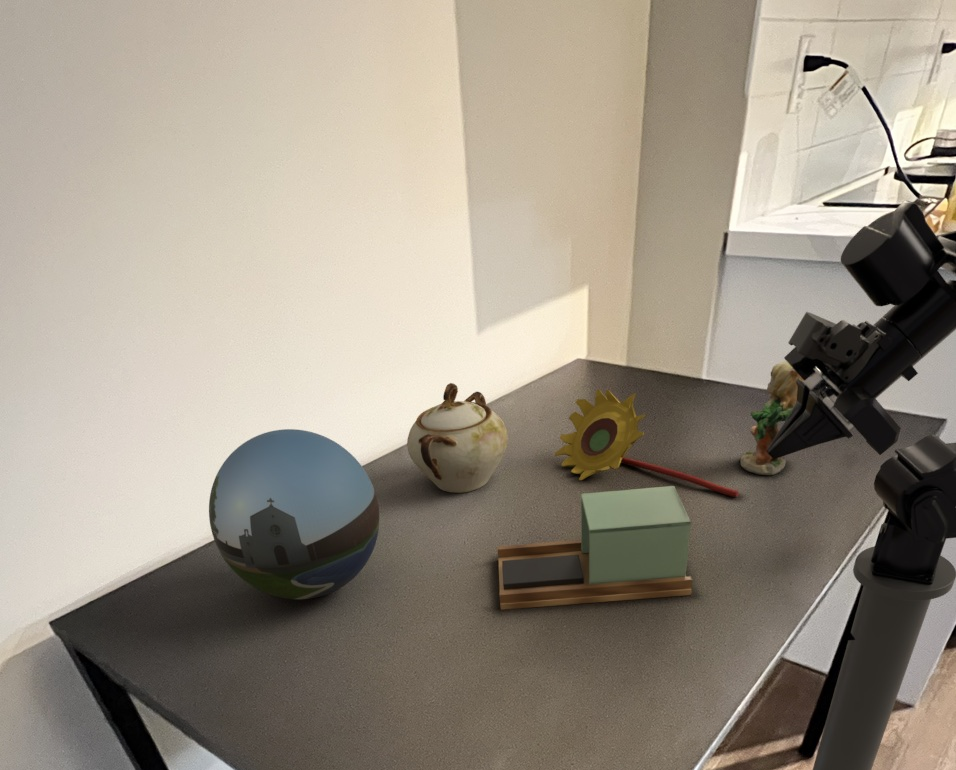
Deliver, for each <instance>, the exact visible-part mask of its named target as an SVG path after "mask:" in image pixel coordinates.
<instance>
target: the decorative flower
mask: <svg viewBox="0 0 956 770" xmlns="http://www.w3.org/2000/svg"><path fill="white" fill-rule="evenodd" d="M636 395H637V393H635V392H634V393H633V394H631V395H630V396H628V397H627V398H626V399H624V400H623V401H619V399H618V398H617V397H616V396H615V395H614V394H613V393H612V392H611V391H610V390H609V389H606V390H605V394H604V393H603V392H602V390H600V389H599V388H598V389H597V390H595V396H594V404H593V403H591V402H590V401H588V400H587V399H586V398H578V399H576V401H575V404H576V405H577V406H578V407H579V409H580V412H581V413H582V414H580V413H578V412H577V411H574V412H572V413H571V414H570V415H569V417H568V420H570V422H571V423H572V424H573V426H574V428H575V431H574V432H571V433H567V434H563V433H562V434H560V435H559V439H560V440H561V441H562V442H563V443H565V445H562V447H561V448H559V449H558V450H556V451H555V452H554V457H557V456H563V455H565V456H567V457H566V458H565V459H564V460H563V461H562V463H561V467H573V468H572V469H571V471H570V472H571V473H572V474H577V475H580V477H579V478H578V481H583V480H585V479H586V478H588V477H590V476H592V475H594V474H598V473H599V472H604V471H607V470H609V469H613V470H617V469H618V468H619V467H620V465H621V463H622V464H624V465H628V466H631V467H636V468H639V469H644V470H647V471H651V472H654V473H658V474H661V475H665V476H668V477H672V478H676V479H678V480H682V481H685V482H689V483H692V484H695V485H698V486H700V487H703V488H706V489H708V490H711V491H713V492H716V493H719V494H722V495H725V496H729V497H732V498H738V497H739V494H740V493H739V491H738V490H737V489H733V488H729V487H726V486H722V485H719V484H716V483H714V482H711V481H708V480H705V479H703V478H700V477H697V476H694V475H691V474H688V473H684V472H681V471H678V470H674V469H671V468H667V467H663V466H660V465H657V464H651V463H648V462H645V461H641V460H637V459H632V458H629V457H625V455H626V454H627V453H628V451H629V450H630V449H631V447H632V446H633V445H634V444H635V443H636V442H637V441H638V440H639V439H641V438H642V437H644V434H645V431H640V430H638V427H639V422H640V421H642V419H644V418H645V417H646V416H647V414H641V415H640V414H639V415H637V414H636V410H635V408H634V399H635V398H636Z"/></svg>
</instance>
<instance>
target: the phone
mask: <svg viewBox="0 0 956 770" xmlns="http://www.w3.org/2000/svg"><path fill="white" fill-rule="evenodd" d="M502 567H503V586H504V590H505V589H518V588H530V587H543V586H555V585H568V584H580V583H584V578H583V573H582V568H581V563H580V558H579V555H566V556H554V557H542V558H529V559H517V560H505V561H502Z"/></svg>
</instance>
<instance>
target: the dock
mask: <svg viewBox="0 0 956 770" xmlns="http://www.w3.org/2000/svg"><path fill="white" fill-rule="evenodd" d="M566 555H579V558H580V563H581V568H582V573H583V578H584V583H580V584H568V585H555V586H543V587H530V588H518V589H505V590H504V586H503V567H502V561H505V560H517V559H529V558H542V557H554V556H566ZM497 560H498V582H499V592H498V593H499V594H498V596H499V603H500V604H499V606H500V611H502V610H503V611H504V610H515V609H517V610H518V609H528V608H541V607H542V608H543V607H554V606H555V607H556V606H567V605H579V604H592V603H593V604H594V603H604V602H607V603H608V602H618V601H620V602H621V601H630V600H631V601H632V600H643V599H655V598H669V597H670V598H671V597H682V596H684V597H685V596H691V595H692V586H693V585H692V584H693V579H692V576H691V575H686V576H685V577H674V578H662V579H649V580H637V581H624V582H612V583H599V584H589V553H582V552H581V539H573V540H571V539H570V540H562V541H561V540H560V541H548V542H538V543H537V542H536V543H526V544H525V543H524V544H512V545H500V546H497Z"/></svg>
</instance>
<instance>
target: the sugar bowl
mask: <svg viewBox="0 0 956 770" xmlns="http://www.w3.org/2000/svg"><path fill="white" fill-rule="evenodd" d="M458 389H459V388H458V386H457V385H456V384H455V383H453V382H450V383H448V384H447V385H446V386H445V389H444V391H443V396H442V398H443V402H442V403H440V404H438V405H437V404H436V405H435V406H432V407H430V408H428V409H426V410H423V411H422V412H421V413H420V414H419V415H418V416H417V418H416V420H415V421H414V423H413V424H412V426H411V427H410V429H409V432H408V436H407V440H406V447H407V452H408V455H409V457H410V459H411V461H412V462H413V464H414V465H415V466H416V467H417V469H419V470H420V472H421V473H422V474H423V475H424V476H426V477H427V478H428V479H429V480H430V481H431V482H432V483H433V484H434V485H436V487H437V488H438V489H440V490H441V491H444V492H447V493H453V494H454V493H457V494H459V493H468V492H469V493H470V492H472V491H475V490H478V489H480V488H482V487H484V486H485V485H486V484H487V483H488V482H489V480H490V478H491V477H492V475H493V474H494V472H495V471H496V469H497V467H498V466H499V464H500V462H501V461H502V458H503V456H504V455H505V452H506V449H507V446H508V440H509V439H508V438H509V436H508V430H507V427H506V425H505V422H504V421H503V419H502V418H501V417H500V416H499V415H498V414H497V413H496V412H495V411H493V410H492V409H491V408H490V407H489V406H488V405H487V401H486V398H485V396H484V394H483V392H481V391H474V392H473V393H471V394H470V395H469V396H468V397H467V398H466V399H464V400H456V398H457V395H458V392H459V390H458ZM473 401H474V402H473Z"/></svg>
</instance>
